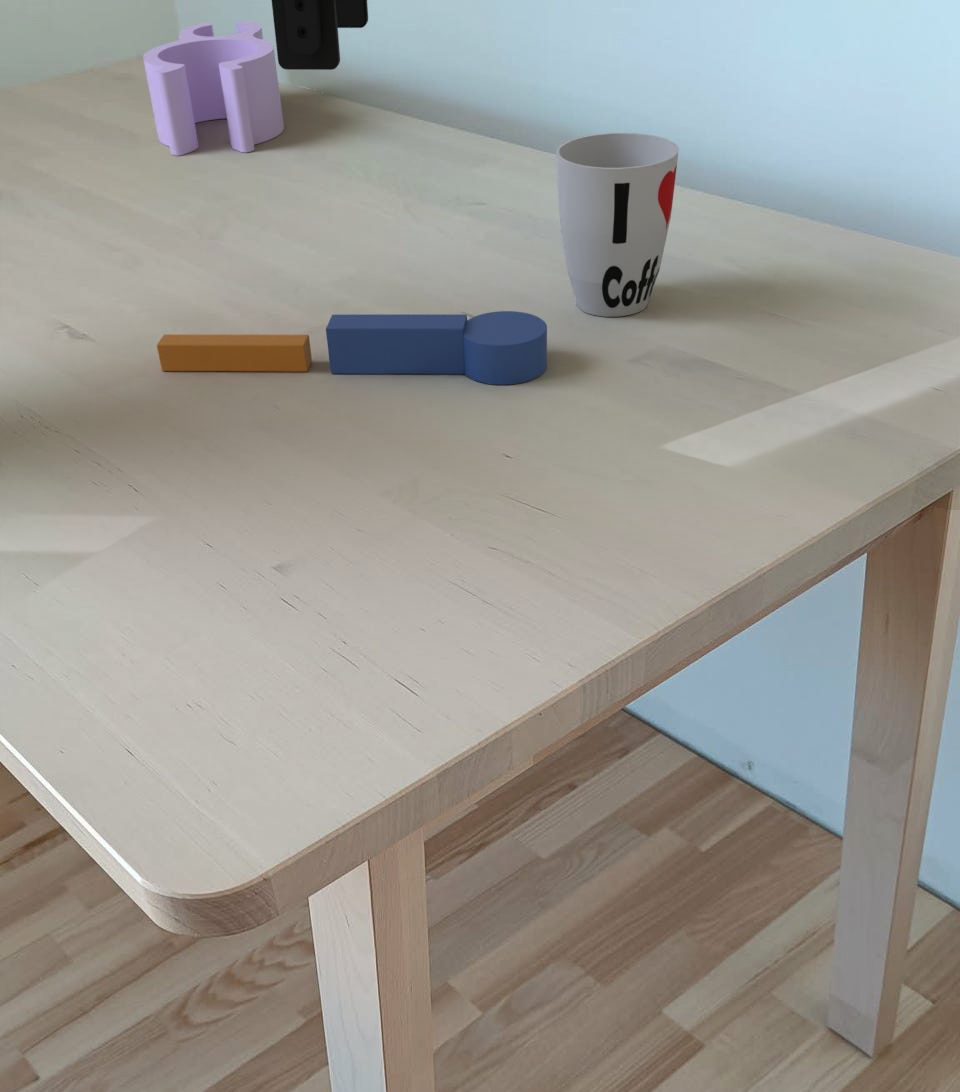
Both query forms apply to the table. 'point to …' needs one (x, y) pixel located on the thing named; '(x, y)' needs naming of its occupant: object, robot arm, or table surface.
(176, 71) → the clip
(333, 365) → the spoon
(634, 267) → the cup
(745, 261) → the table surface
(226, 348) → the bar
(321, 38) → the robot arm
